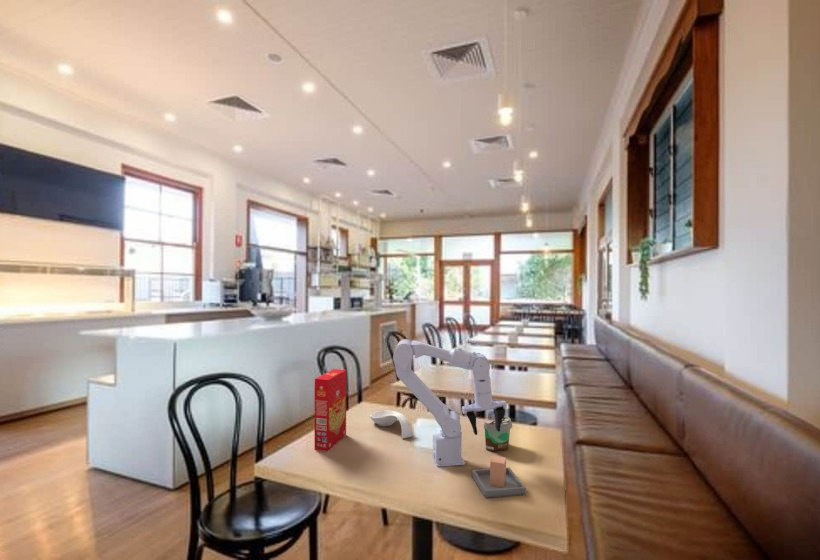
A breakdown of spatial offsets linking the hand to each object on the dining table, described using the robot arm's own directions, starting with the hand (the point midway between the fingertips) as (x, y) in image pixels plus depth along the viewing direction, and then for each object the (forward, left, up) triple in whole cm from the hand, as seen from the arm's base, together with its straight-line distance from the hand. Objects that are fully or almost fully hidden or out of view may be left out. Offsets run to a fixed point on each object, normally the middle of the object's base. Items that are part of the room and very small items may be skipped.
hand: (486, 432), depth 133 cm
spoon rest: (-28, +33, -11) cm, 45 cm away
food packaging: (-51, +23, -10) cm, 57 cm away
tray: (-2, -14, -10) cm, 18 cm away
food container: (+9, +9, -10) cm, 16 cm away
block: (-1, -14, -9) cm, 17 cm away
